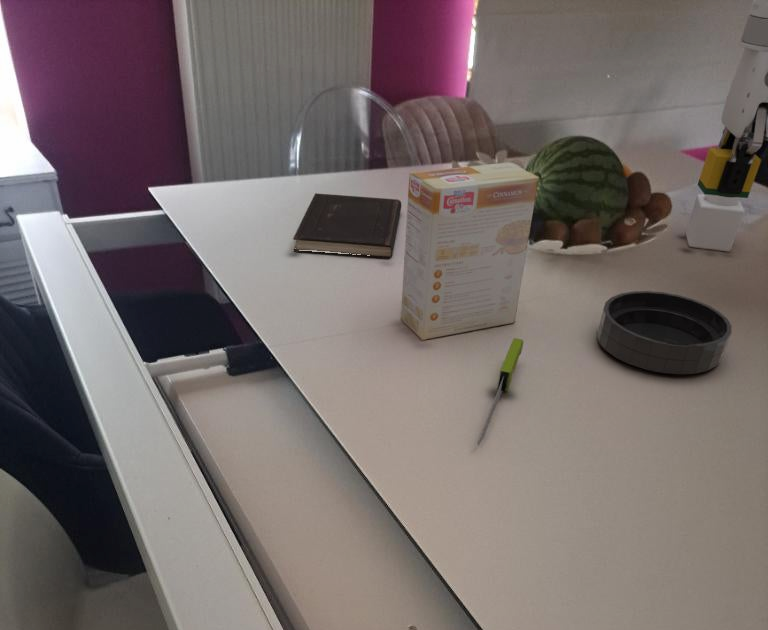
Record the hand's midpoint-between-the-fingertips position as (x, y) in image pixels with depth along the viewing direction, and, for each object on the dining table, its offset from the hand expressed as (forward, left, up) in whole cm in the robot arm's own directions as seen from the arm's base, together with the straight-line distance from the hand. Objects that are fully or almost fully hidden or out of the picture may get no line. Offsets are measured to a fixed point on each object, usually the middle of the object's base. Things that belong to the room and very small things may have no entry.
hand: (724, 185), depth 104 cm
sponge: (0, 0, -1) cm, 1 cm away
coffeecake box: (+36, +17, -16) cm, 43 cm away
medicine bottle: (-8, -23, -16) cm, 29 cm away
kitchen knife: (+31, +38, -16) cm, 52 cm away
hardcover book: (+55, -15, -16) cm, 59 cm away
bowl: (+9, +20, -16) cm, 27 cm away
